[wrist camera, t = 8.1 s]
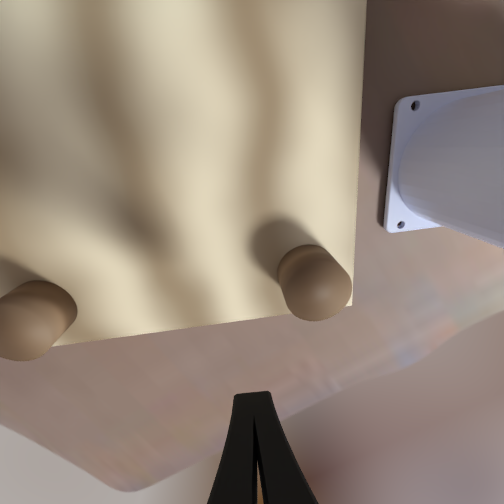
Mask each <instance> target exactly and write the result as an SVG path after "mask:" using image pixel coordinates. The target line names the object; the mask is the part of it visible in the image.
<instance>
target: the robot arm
mask: <svg viewBox="0 0 504 504" xmlns="http://www.w3.org/2000/svg"><path fill="white" fill-rule="evenodd" d="M413 102H414V103H415V105H416V107H415V109H414V110H412V109H411V105H412V103H413ZM399 222H401V225H400V226H399V227H397V224H398V223H399ZM440 226H444V227H447V228H449V229H452V230H455V231H457V232H460V233H463V234H465V235H468V236H471V237H473V238H476V239H479V240H481V241H484V242H487V243H489V244H492V245H495V246H497V247H500V248H503V249H504V85H499V86H490V87H482V88H474V89H466V90H458V91H450V92H441V93H433V94H425V95H417V96H409V97H405V98H402V99H400V100H399V101H398V102H397V103H396V105H395V109H394V119H393V130H392V141H391V151H390V162H389V172H388V183H387V194H386V204H385V215H384V229H385V230H386V231H388V232H390V233H395V232H402V231H410V230H418V229H425V228H433V227H440ZM257 461H258V468H259V475H260V481H261V488H262V495H263V502H264V504H318V502H317V500H316V498H315V496H314V494H313V493H312V491H311V489H310V487H309V485H308V483H307V481H306V479H305V477H304V475H303V473H302V471H301V469H300V467H299V465H298V463H297V461H296V459H295V456H294V454H293V452H292V450H291V448H290V445H289V443H288V441H287V439H286V436H285V434H284V431H283V429H282V426H281V424H280V421H279V419H278V416H277V413H276V410H275V407H274V404H273V400H272V396H271V393H270V392H269V391H262V392H252V393H242V394H236V395H235V396H234V400H233V409H232V415H231V420H230V425H229V430H228V434H227V438H226V442H225V446H224V450H223V454H222V457H221V461H220V464H219V468H218V471H217V474H216V477H215V481H214V484H213V487H212V490H211V493H210V497H209V499H208V502H207V504H257Z"/></svg>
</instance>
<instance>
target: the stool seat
mask: <svg viewBox="0 0 504 504" xmlns="http://www.w3.org/2000/svg"><path fill="white" fill-rule="evenodd" d="M366 5H367V0H0V357H2V358H5V359H9V360H14V361H30V360H34V359H37V358H39V357H41V356H42V355H44V354H45V353H46V352H47V351H48V350H49V349H50V347H51V346H58V345H66V344H73V343H80V342H88V341H95V340H102V339H110V338H117V337H124V336H132V335H139V334H146V333H154V332H161V331H168V330H175V329H183V328H190V327H197V326H205V325H212V324H219V323H227V322H234V321H241V320H249V319H256V318H263V317H271V316H278V315H285V314H294V315H295V316H296V317H298V318H300V319H303V320H307V321H321V320H325V319H328V318H330V317H332V316H334V315H336V314H337V313H339V312H340V311H341V310H342V309H343V308H344V307H345V306H351V305H352V291H353V271H354V250H355V230H356V210H357V189H358V169H359V148H360V128H361V108H362V87H363V67H364V46H365V26H366Z"/></svg>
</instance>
